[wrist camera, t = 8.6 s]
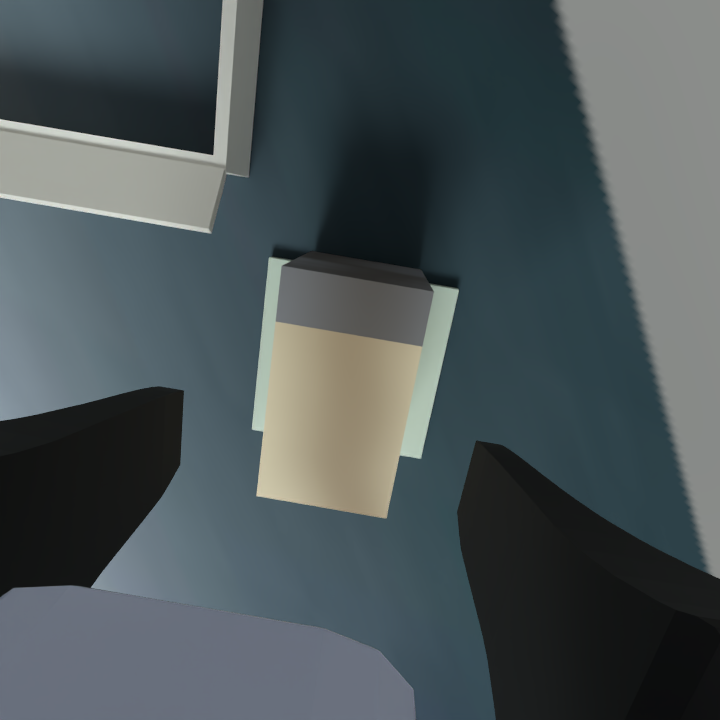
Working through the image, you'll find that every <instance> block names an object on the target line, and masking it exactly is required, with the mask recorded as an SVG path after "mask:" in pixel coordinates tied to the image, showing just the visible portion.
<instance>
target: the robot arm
mask: <svg viewBox="0 0 720 720" xmlns="http://www.w3.org/2000/svg"><path fill="white" fill-rule="evenodd" d="M183 397H184V391H183V390H177V389H171V388H165V387H150V388H144V389H140V390H135V391H131V392H127V393H123V394H119V395H116V396H112V397H108V398H104V399H100V400H96V401H93V402H89V403H85V404H81V405H77V406H72V407H68V408H64V409H59V410H55V411H51V412H46V413H42V414H38V415H33V416H28V417H22V418H17V419H11V420H5V421H0V720H416V713H415V702H414V691H413V688H412V687H411V686H410V685H409V684H408V683H407V682H406V680H405V679H404V678H403V677H402V676H401V675H400V674H399V672H398V671H397V670H396V669H395V668H394V667H393V666H392V665H391V663H390V662H389V661H388V660H387V659H386V658H385V657H384V655H383V654H382V653H381V652H380V651H379V650H377V649H375V648H373V647H370V646H368V645H365V644H363V643H360V642H358V641H355V640H353V639H350V638H348V637H345V636H342V635H340V634H337V633H335V632H332V631H330V630H327V629H325V628H320V627H314V626H308V625H302V624H297V623H291V622H285V621H279V620H273V619H268V618H262V617H256V616H250V615H244V614H239V613H233V612H227V611H221V610H215V609H209V608H204V607H198V606H192V605H186V604H180V603H175V602H169V601H163V600H157V599H151V598H146V597H140V596H134V595H128V594H122V593H117V592H111V591H105V590H99V589H93V588H91V586H92V585H93V584H94V582H95V581H96V579H97V578H98V577H99V575H100V574H101V573H102V571H103V570H104V569H105V567H106V566H107V565H108V564H109V562H110V561H111V560H112V559H113V557H114V556H115V555H116V554H117V552H118V551H119V550H120V549H121V547H122V546H123V545H124V544H125V543H126V541H127V540H128V539H129V538H130V536H131V535H132V534H133V533H134V531H135V530H136V529H137V528H138V526H139V525H140V524H141V523H142V521H143V520H144V519H145V517H146V516H147V515H148V514H149V512H150V511H151V510H152V509H153V507H154V506H155V505H156V503H157V502H158V501H159V499H160V498H161V497H162V495H163V494H164V492H165V490H166V489H167V487H168V485H169V484H170V482H171V480H172V478H173V476H174V475H175V473H176V471H177V469H178V467H179V466H180V457H181V437H182V417H183ZM457 514H458V526H459V536H460V544H461V551H462V555H463V559H464V563H465V567H466V572H467V576H468V580H469V584H470V587H471V591H472V595H473V599H474V603H475V607H476V611H477V615H478V619H479V623H480V627H481V631H482V635H483V639H484V644H485V649H486V654H487V659H488V666H489V673H490V680H491V687H492V694H493V700H494V708H495V716H496V720H720V579H719V578H716V577H714V576H712V575H710V574H708V573H705V572H703V571H701V570H699V569H696V568H694V567H692V566H690V565H688V564H686V563H684V562H682V561H680V560H678V559H676V558H674V557H672V556H670V555H668V554H666V553H664V552H662V551H660V550H658V549H656V548H654V547H652V546H650V545H649V544H647V543H645V542H643V541H641V540H639V539H638V538H636V537H634V536H633V535H631V534H629V533H627V532H626V531H624V530H622V529H621V528H619V527H617V526H616V525H614V524H612V523H610V522H609V521H607V520H606V519H604V518H602V517H601V516H599V515H598V514H596V513H595V512H593V511H592V510H590V509H589V508H587V507H586V506H585V505H583V504H582V503H580V502H579V501H577V500H576V499H574V498H573V497H572V496H570V495H569V494H567V493H566V492H565V491H563V490H562V489H561V488H559V487H558V486H557V485H555V484H554V483H553V482H551V481H550V480H549V479H547V478H546V477H545V476H543V475H542V474H541V473H540V472H538V471H537V470H536V469H534V468H533V467H532V466H531V465H529V464H528V463H527V462H525V461H524V460H523V459H522V458H520V457H519V456H518V455H516V454H515V453H513V452H512V451H511V450H509V449H507V448H506V447H504V446H502V445H499V444H493V443H487V442H481V441H476V443H475V447H474V451H473V454H472V458H471V462H470V466H469V470H468V473H467V477H466V481H465V485H464V489H463V492H462V496H461V500H460V504H459V507H458V511H457Z"/></svg>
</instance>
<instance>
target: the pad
mask: <svg viewBox="0 0 720 720" xmlns="http://www.w3.org/2000/svg"><path fill="white" fill-rule="evenodd" d="M290 261H292V260H290V259H284V258H278V257H269V264H268V274H267V283H266V293H265V303H264V313H263V323H262V333H261V343H260V353H259V363H258V373H257V383H256V393H255V403H254V413H253V423H252V430H257V431H263V432H264V423H265V414H266V405H267V396H268V386H269V377H270V368H271V359H272V350H273V340H274V331H275V322H276V313H277V304H278V294H279V285H280V276H281V267H282V265H284V264H286V263H288V262H290ZM429 284H430V283H429ZM430 286H431V287H432V289H433V291H434V294H433V299H432V304H431V308H430V313H429V318H428V323H427V327H426V332H425V337H424V342H423V346H422V351H421V356H420V361H419V365H418V370H417V375H416V380H415V384H414V389H413V394H412V399H411V403H410V408H409V413H408V418H407V422H406V427H405V432H404V437H403V441H402V446H401V451H400V455H402V456H408V457H414V458H419V459H421V455H422V451H423V446H424V442H425V438H426V433H427V429H428V424H429V420H430V416H431V411H432V407H433V402H434V398H435V393H436V389H437V385H438V380H439V376H440V371H441V367H442V363H443V358H444V354H445V349H446V345H447V341H448V336H449V332H450V327H451V323H452V319H453V314H454V310H455V305H456V301H457V296H458V292H459V289H458V288H454V287H448V286H442V285H436V284H430Z"/></svg>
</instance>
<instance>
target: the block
mask: <svg viewBox="0 0 720 720" xmlns="http://www.w3.org/2000/svg"><path fill="white" fill-rule="evenodd" d="M433 294H434V291H433V289H432V287H431V286H430V284H429V282H428V281H427V279H426V277H425V275H424V274H423V272H422V270H421V269H415V268H409V267H403V266H397V265H391V264H385V263H380V262H374V261H368V260H362V259H356V258H350V257H344V256H338V255H333V254H327V253H321V252H315V251H310V252H308V253H306V254H304V255H302V256H300V257H298V258H296V259H294V260H292V261H290V262H288V263H286V264H284V265H282V267H281V276H280V285H279V294H278V304H277V313H276V322H275V331H274V340H273V350H272V359H271V368H270V377H269V386H268V396H267V405H266V414H265V423H264V432H263V442H262V451H261V460H260V469H259V478H258V488H257V496H260V497H266V498H271V499H277V500H283V501H289V502H294V503H300V504H306V505H312V506H317V507H323V508H329V509H335V510H340V511H346V512H352V513H358V514H363V515H369V516H375V517H381V518H386V517H387V513H388V508H389V503H390V498H391V494H392V489H393V484H394V479H395V475H396V470H397V465H398V460H399V456H400V451H401V446H402V441H403V437H404V432H405V427H406V422H407V418H408V413H409V408H410V403H411V399H412V394H413V389H414V384H415V380H416V375H417V370H418V365H419V361H420V356H421V351H422V346H423V342H424V337H425V332H426V327H427V323H428V318H429V313H430V308H431V304H432V299H433Z"/></svg>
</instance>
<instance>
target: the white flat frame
mask: <svg viewBox="0 0 720 720" xmlns="http://www.w3.org/2000/svg"><path fill="white" fill-rule="evenodd" d="M262 11H263V0H223V5H222V21H221V38H220V55H219V71H218V88H217V104H216V121H215V137H214V154H213V155H208V154H202V153H196V152H191V151H185V150H179V149H173V148H167V147H161V146H155V145H149V144H143V143H137V142H131V141H126V140H120V139H114V138H108V137H102V136H96V135H90V134H84V133H78V132H72V131H66V130H61V129H55V128H49V127H43V126H37V125H31V124H25V123H19V122H13V121H7V120H2V119H0V198H6V199H12V200H17V201H23V202H29V203H35V204H41V205H47V206H53V207H59V208H64V209H70V210H76V211H82V212H88V213H94V214H100V215H106V216H111V217H117V218H123V219H129V220H135V221H141V222H147V223H152V224H158V225H164V226H170V227H176V228H182V229H188V230H194V231H199V232H205V233H212V230H213V226H214V222H215V218H216V214H217V210H218V206H219V202H220V199H221V195H222V191H223V187H224V183H225V179H226V175H227V174H231V175H236V176H242V177H248V178H249V168H250V156H251V144H252V132H253V120H254V108H255V96H256V84H257V72H258V60H259V47H260V35H261V23H262Z"/></svg>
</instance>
